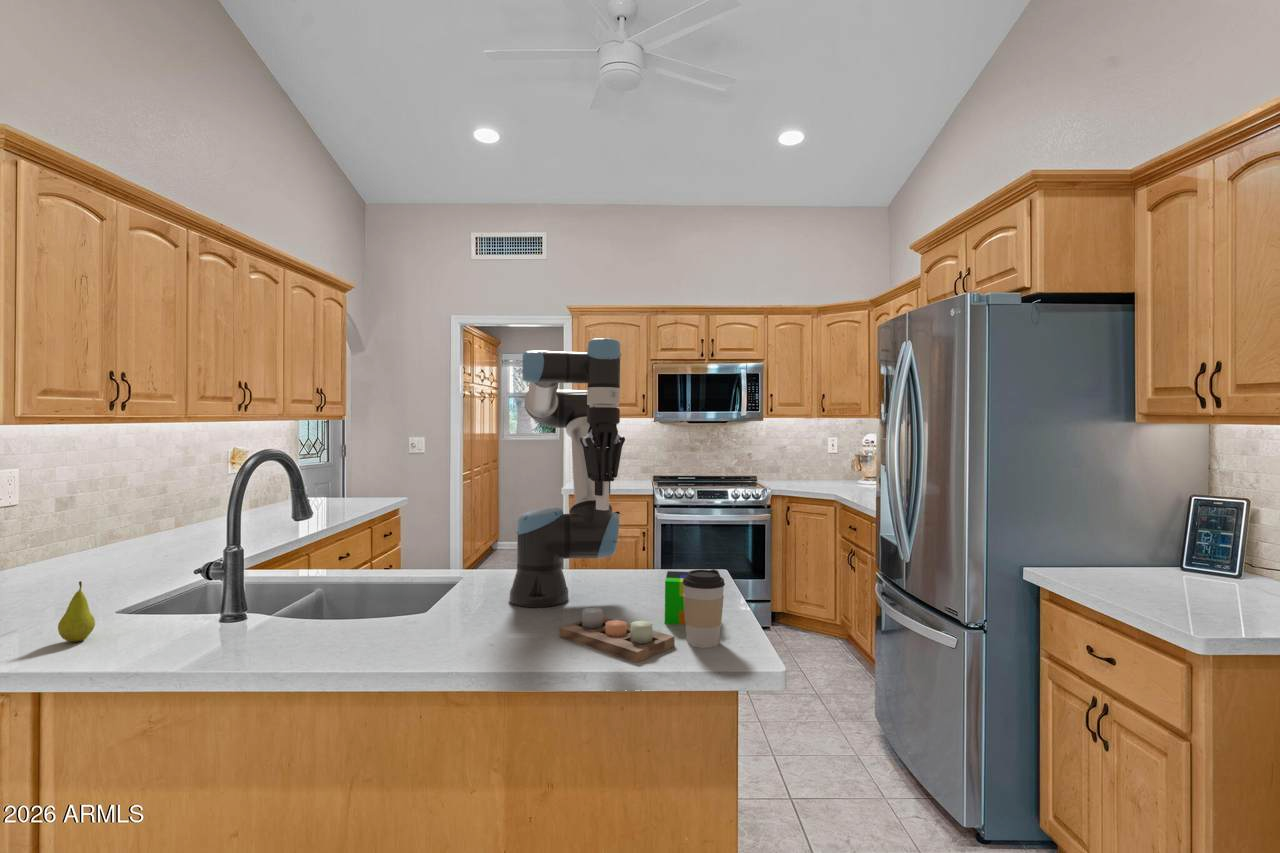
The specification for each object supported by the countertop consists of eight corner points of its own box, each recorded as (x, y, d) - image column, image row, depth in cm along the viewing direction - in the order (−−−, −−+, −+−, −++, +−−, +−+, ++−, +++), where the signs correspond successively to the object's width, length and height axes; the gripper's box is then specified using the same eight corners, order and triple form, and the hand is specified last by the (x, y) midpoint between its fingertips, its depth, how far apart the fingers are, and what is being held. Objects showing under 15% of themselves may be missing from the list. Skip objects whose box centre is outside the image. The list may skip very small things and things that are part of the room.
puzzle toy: (707, 613, 154) (708, 572, 154) (708, 626, 144) (708, 582, 144) (667, 611, 155) (667, 571, 155) (664, 624, 145) (665, 581, 145)
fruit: (64, 648, 126) (65, 588, 126) (52, 643, 128) (53, 584, 128) (100, 639, 131) (100, 582, 131) (88, 635, 133) (88, 578, 133)
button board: (559, 636, 136) (559, 627, 136) (597, 623, 145) (598, 614, 145) (637, 662, 121) (637, 652, 121) (674, 646, 131) (674, 636, 131)
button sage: (625, 641, 128) (626, 624, 128) (640, 635, 132) (640, 619, 132) (642, 646, 125) (643, 629, 125) (656, 640, 129) (656, 624, 129)
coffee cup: (696, 652, 127) (697, 578, 127) (673, 638, 135) (674, 568, 135) (732, 645, 131) (733, 573, 131) (708, 632, 139) (709, 565, 139)
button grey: (577, 626, 137) (577, 610, 137) (592, 621, 141) (592, 606, 141) (592, 630, 134) (592, 615, 134) (606, 625, 138) (606, 610, 138)
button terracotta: (600, 639, 133) (601, 623, 133) (615, 634, 136) (615, 618, 136) (616, 644, 130) (616, 628, 130) (630, 639, 133) (631, 623, 133)
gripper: (595, 405, 136) (594, 514, 137) (634, 407, 146) (633, 508, 147) (571, 406, 141) (570, 510, 141) (610, 407, 151) (609, 505, 151)
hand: (602, 509), depth 144 cm, fingers closed
